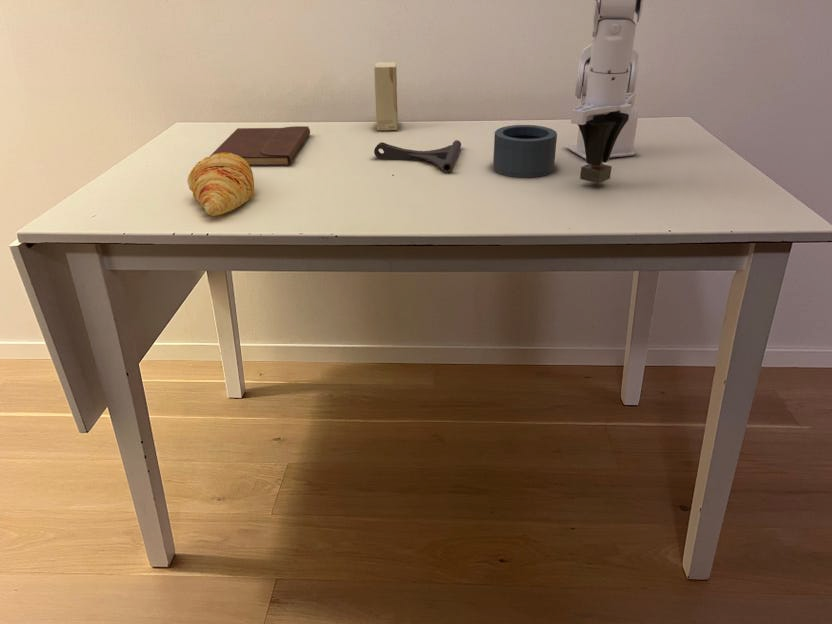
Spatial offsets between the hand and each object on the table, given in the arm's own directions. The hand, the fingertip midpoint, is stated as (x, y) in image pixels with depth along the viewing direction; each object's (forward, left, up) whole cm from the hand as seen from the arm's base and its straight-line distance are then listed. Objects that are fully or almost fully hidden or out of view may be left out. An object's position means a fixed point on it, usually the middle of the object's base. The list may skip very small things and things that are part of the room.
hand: (597, 162), depth 109 cm
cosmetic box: (+23, -46, -4) cm, 52 cm away
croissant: (+58, -13, -4) cm, 59 cm away
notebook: (+49, -38, -4) cm, 62 cm away
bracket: (+23, -23, -4) cm, 33 cm away
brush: (0, 0, -3) cm, 3 cm away
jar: (+7, -12, -4) cm, 14 cm away
